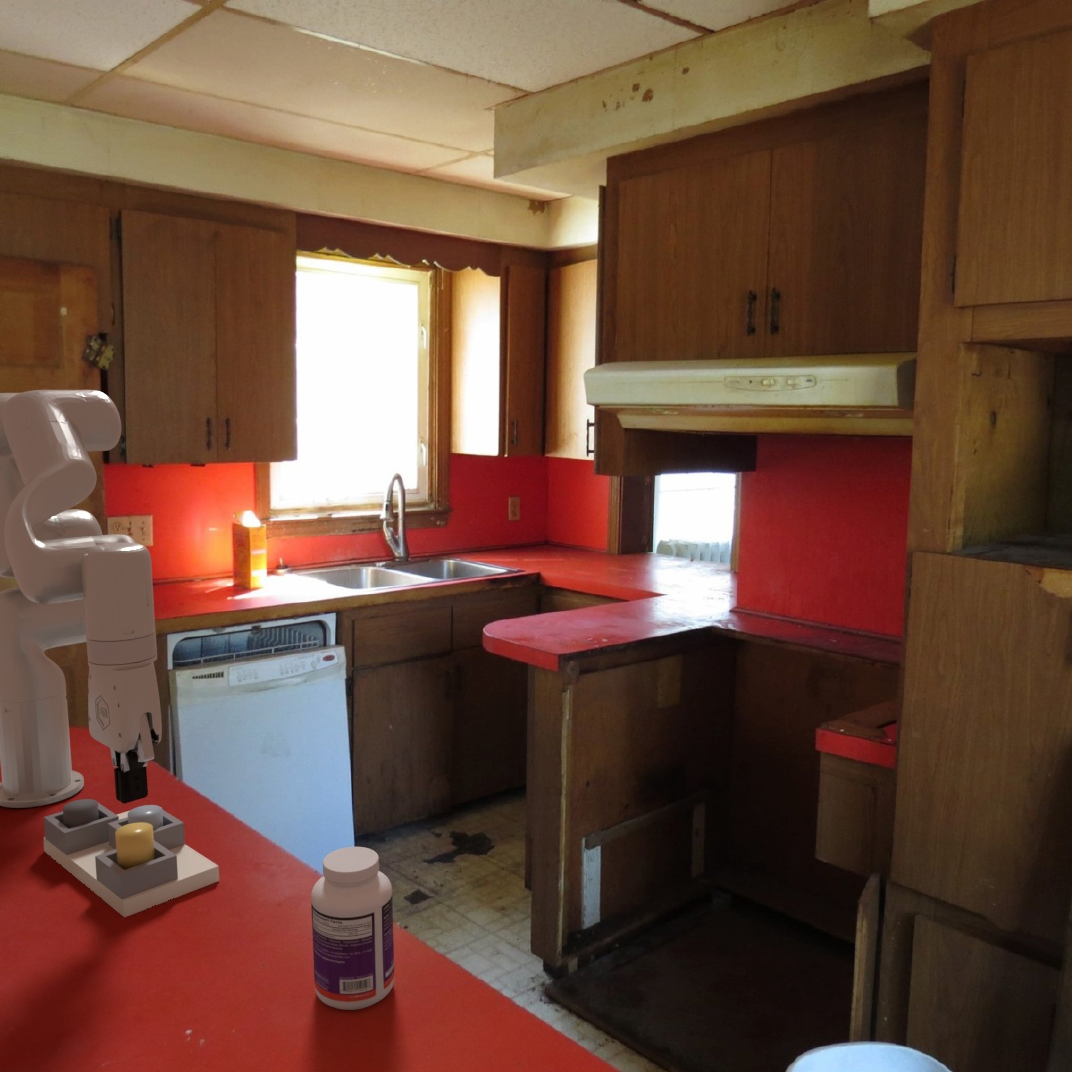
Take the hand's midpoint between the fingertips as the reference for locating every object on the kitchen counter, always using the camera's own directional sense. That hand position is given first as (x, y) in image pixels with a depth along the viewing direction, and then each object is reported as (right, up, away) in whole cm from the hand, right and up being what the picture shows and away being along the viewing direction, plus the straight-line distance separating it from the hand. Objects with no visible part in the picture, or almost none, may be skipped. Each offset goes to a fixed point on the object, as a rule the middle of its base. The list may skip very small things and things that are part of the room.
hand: (132, 798), depth 120 cm
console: (-4, -11, +9) cm, 15 cm away
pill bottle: (+30, -15, -17) cm, 38 cm away
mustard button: (0, -8, +1) cm, 8 cm away
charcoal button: (-12, -8, +12) cm, 19 cm away
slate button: (-2, -8, +11) cm, 14 cm away
